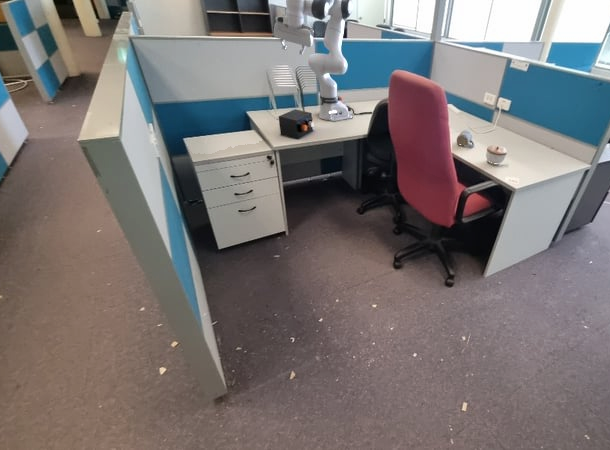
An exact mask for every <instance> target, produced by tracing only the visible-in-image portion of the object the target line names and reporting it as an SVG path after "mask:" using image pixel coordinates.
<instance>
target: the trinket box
mask: <svg viewBox="0 0 610 450" xmlns="http://www.w3.org/2000/svg"><path fill="white" fill-rule="evenodd" d="M507 154H508V150H507V149H506V148H505V147H502V146H499V145H489V146H487V148H486V154H485V157H486V161H487V163H488V164H490V165H493V166H498V165H499V164H501V163H503V162H504V160H505V159H506V156H507ZM489 161H490V162H492V163H490V162H489ZM494 163H499V164H494Z"/></svg>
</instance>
